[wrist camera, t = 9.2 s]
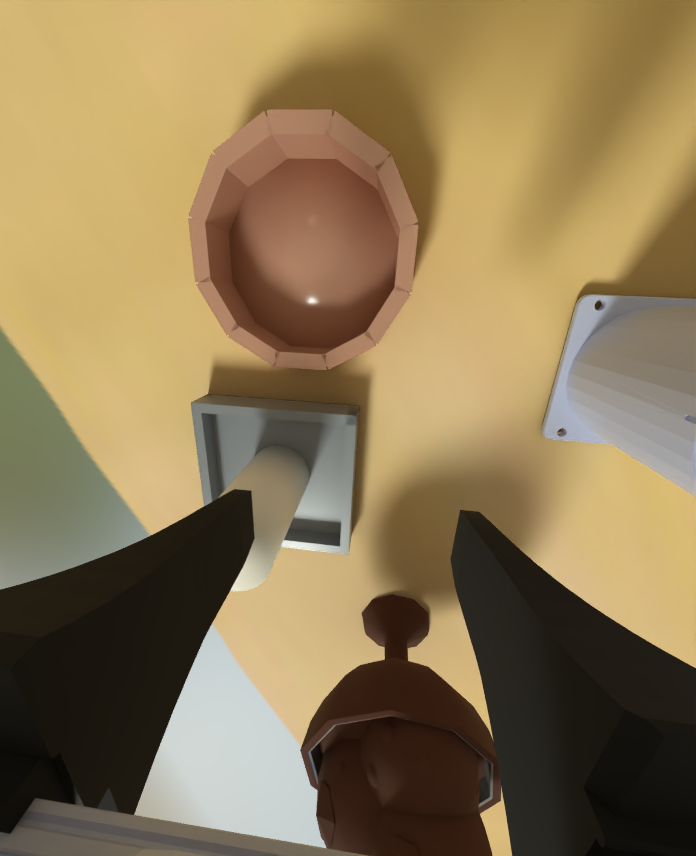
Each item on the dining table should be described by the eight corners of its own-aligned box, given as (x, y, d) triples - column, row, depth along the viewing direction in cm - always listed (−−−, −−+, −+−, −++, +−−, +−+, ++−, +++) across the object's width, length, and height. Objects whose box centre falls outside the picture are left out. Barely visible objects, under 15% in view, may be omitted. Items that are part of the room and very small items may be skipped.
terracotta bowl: (423, 143, 16) (431, 109, 13) (400, 365, 19) (402, 375, 17) (211, 142, 17) (176, 109, 14) (229, 354, 20) (204, 361, 18)
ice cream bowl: (400, 544, 24) (418, 876, 10) (492, 634, 26) (613, 1013, 12) (302, 608, 27) (215, 923, 13) (390, 683, 29) (394, 1023, 16)
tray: (359, 405, 21) (356, 415, 19) (351, 535, 24) (348, 554, 22) (207, 394, 22) (190, 402, 20) (221, 520, 25) (208, 538, 23)
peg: (310, 447, 21) (270, 523, 14) (309, 501, 23) (272, 596, 15) (249, 442, 22) (179, 513, 14) (252, 495, 23) (189, 585, 15)
